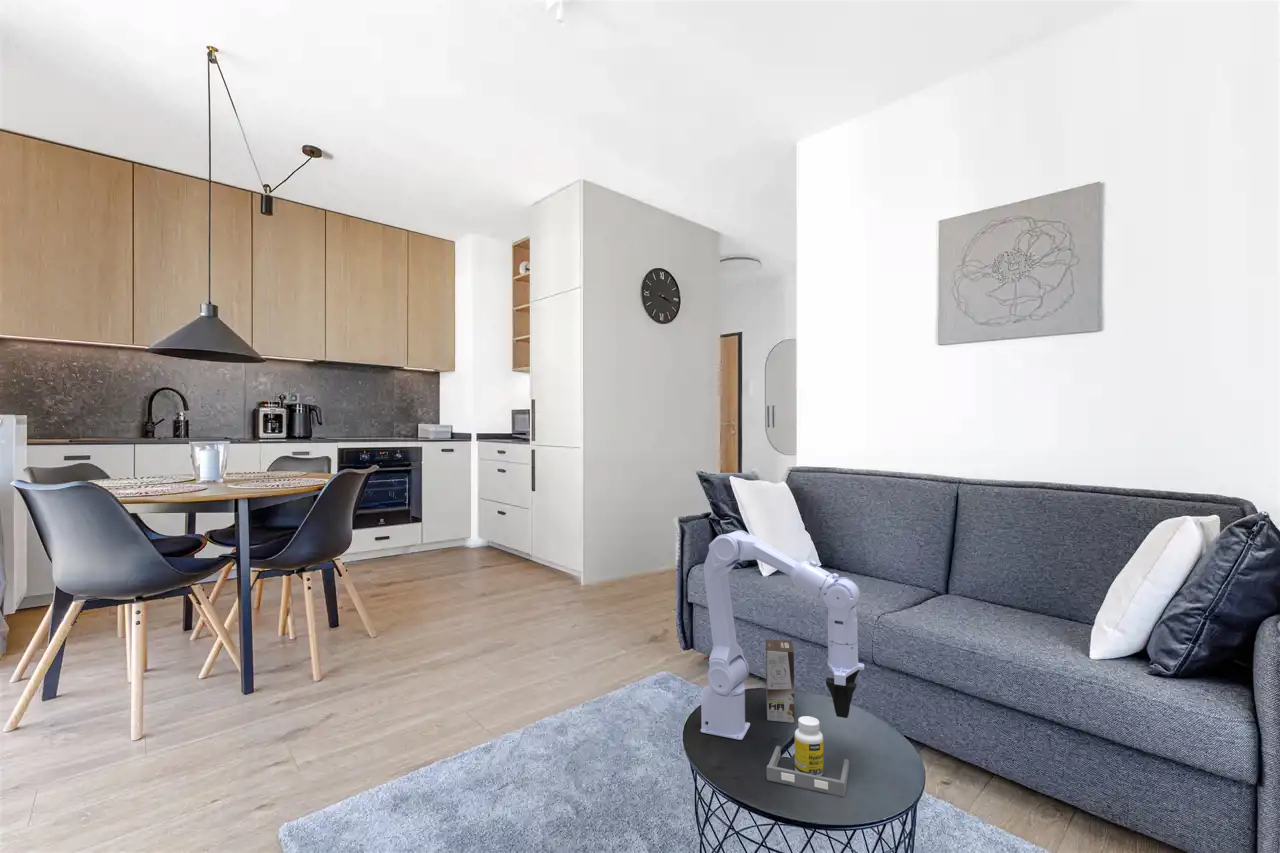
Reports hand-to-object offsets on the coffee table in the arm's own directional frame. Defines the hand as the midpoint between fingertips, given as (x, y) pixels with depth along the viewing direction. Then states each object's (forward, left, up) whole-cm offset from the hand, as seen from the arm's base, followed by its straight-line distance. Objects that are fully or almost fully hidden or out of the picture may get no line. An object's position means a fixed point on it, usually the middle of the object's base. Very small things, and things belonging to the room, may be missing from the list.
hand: (843, 708), depth 119 cm
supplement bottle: (-6, -7, -11) cm, 14 cm away
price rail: (-6, -8, -10) cm, 14 cm away
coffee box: (-16, +17, -11) cm, 26 cm away
